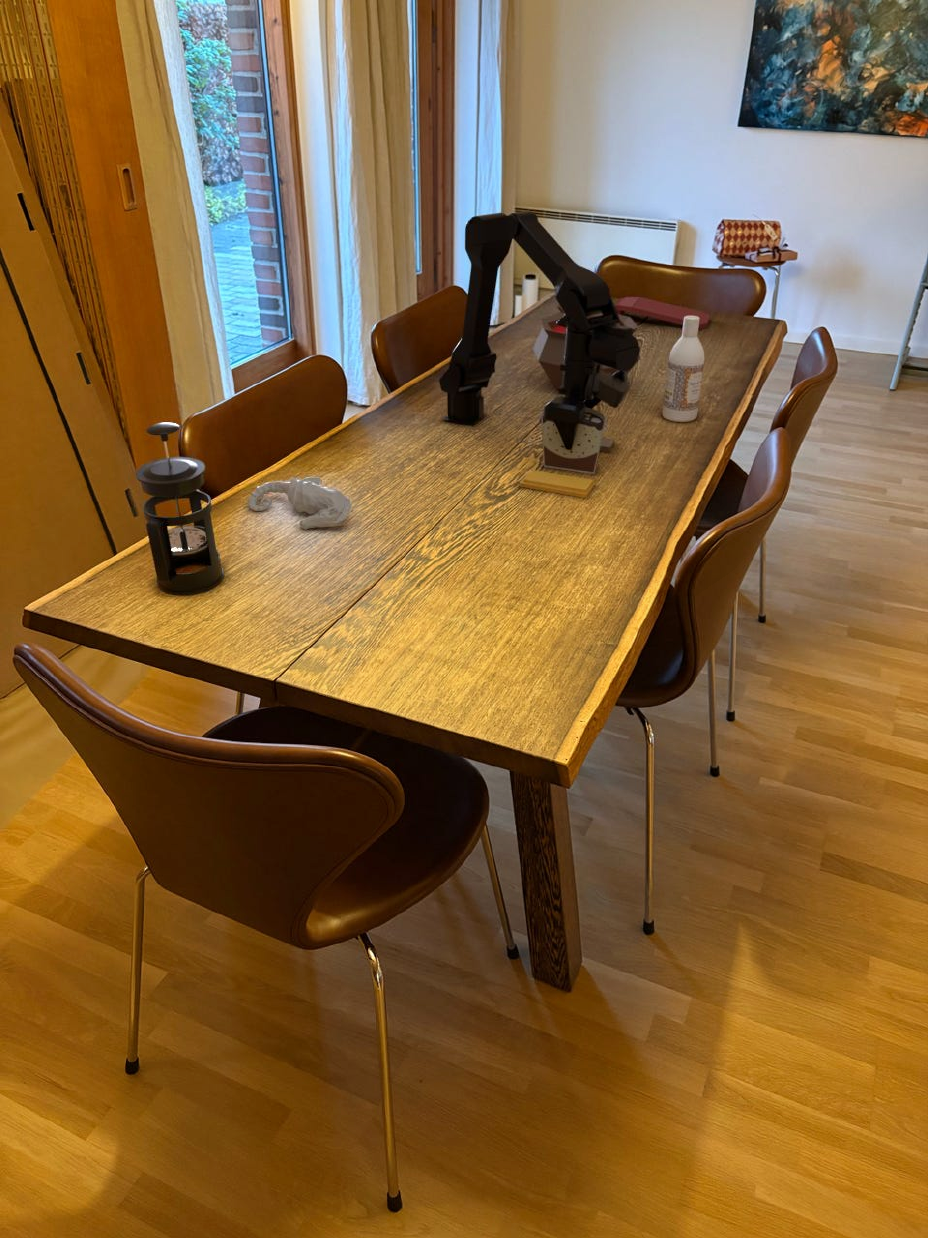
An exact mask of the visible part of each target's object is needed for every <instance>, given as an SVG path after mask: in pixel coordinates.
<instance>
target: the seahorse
mask: <svg viewBox="0 0 928 1238" xmlns="http://www.w3.org/2000/svg"><path fill="white" fill-rule="evenodd" d="M322 483H323V479H322V478H320V477H317V476H309V477H308V476H307V477H305V478H303V479H299V478H297V477H293V478H292V479H291V480H290V481H283V480H278V481H276V480H273V481H269V482H265V483H263V484H262V485H258V486H257V487H256V488H255V489H254V490H253V492H250V496H249V497H248V500H247V505H248V506H247V507H249V509H250V510H251V511H254V512H259V511H260V512H262V511H264V510H268V508H269V507H271V506H272V505H273V500H272V499H271V498H270V497H268V496H267V497H264V496H265V495H269V494H270V493H273V494H276V493H279V494H285V495H286V496H287V499H288V503H289V504H290V505H291V506H292V507H293V508H295V509H296V511H297V512H298V513H307V514H309V515H308V516H307V517H306V518H304V519H301V520H300V521H299V522H298V524H299V527H300V528H301V529H303V530H305V531H307V530H308V529H314V528H329V527H332V528H333V527H338V526H344V525H346V523H345V522H343V521H344V520H345V518H347V516H348V515H349V514H350V511H351V508H352V506H353V503H352V501H351V499H350V498H349V497H348V495H345V494H344V493H343V492H341V491H340V490H339V489H337V488H334V487H325V486H323V485H320V484H322ZM261 498H262V499H261ZM260 499H261V500H260ZM258 501H260V504H261V505H258V504H257V502H258Z"/></svg>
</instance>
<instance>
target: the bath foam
mask: <svg viewBox="0 0 928 1238" xmlns="http://www.w3.org/2000/svg"><path fill="white" fill-rule="evenodd" d="M698 327H699V317H697V316H685V317H684V322H683V325H682V331H681V332H682V333H681V336H680V337H679V338H678V339H677V341H676V342H675V343H674V345H673V347H672V348H671V350H670V352H669V356H668V360H667V369H666V377H665V387H664V392H663V393H664V395H663V404H662V410H661V411H662V417H663V418H664V419H666V420H667V421H671V422H675V423H690V422H693V421H695V420H696V419H697V417H698V411H699V404H700V397H701V389H702V383H703V382H702V381H703V375H704V368H705V351H704V347H703V345H702V343H701V341H700V339H699V337H698V333H699V329H698Z"/></svg>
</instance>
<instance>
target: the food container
mask: <svg viewBox="0 0 928 1238" xmlns="http://www.w3.org/2000/svg"><path fill="white" fill-rule="evenodd" d="M585 415H587V417H586V418H585V419H584V420H583V421H582V422H580V423H579V424H578V427H577V431H576V436H575V440H574V444H573V447H572V449H571V450H567V449H565V446H564V444H563V441H562V439H561V437H560V434H559V432H558V430H557V427H556V425H555V423H554V421H553V420H551V419H546V418H544V410H543V411H542V412H541V415H539V418H538V423H537V424H540V423H541V437H542V461H543V463H542V464H543V468H550V469H555V470H556V469H557V470H563V471H569V472H577V473H583V474H590V475H595V474H596V471H597V465H598V460H599V456H600V452H601V451H600V446H601V442H602V438H604V431H605V433H607V434H608V421H607V418H606V416H605V414H604V413H603V412H601V411H599V410H597V409H594V408H593V409H591V408H586V409H585Z"/></svg>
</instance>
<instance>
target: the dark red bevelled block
mask: <svg viewBox="0 0 928 1238" xmlns="http://www.w3.org/2000/svg"><path fill="white" fill-rule="evenodd" d="M614 306H615V308H616V310H617V313H618V315H622V316H625V313H626V312H627V313H631V314H636V315H640V316H645V317H649V318H652V319H656V320H661V321H665V322H668V323H673V324H677V325H681V326H683V322H684V317H685V316H697V317H699V327H698V330H702V329H703V330H704V329H706V328H707V325H708V324H709V321H710V318H711V315H710V314H708V313H707V312H704V311H700V310H695V309H692V308H687V307H683V306H680V305H675V304H670V303H666V302H662V301H658V300H655V299H650V298H646V297H643V296H625V297H620V299H619V300H618V301H617V302H616V303H614Z"/></svg>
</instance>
